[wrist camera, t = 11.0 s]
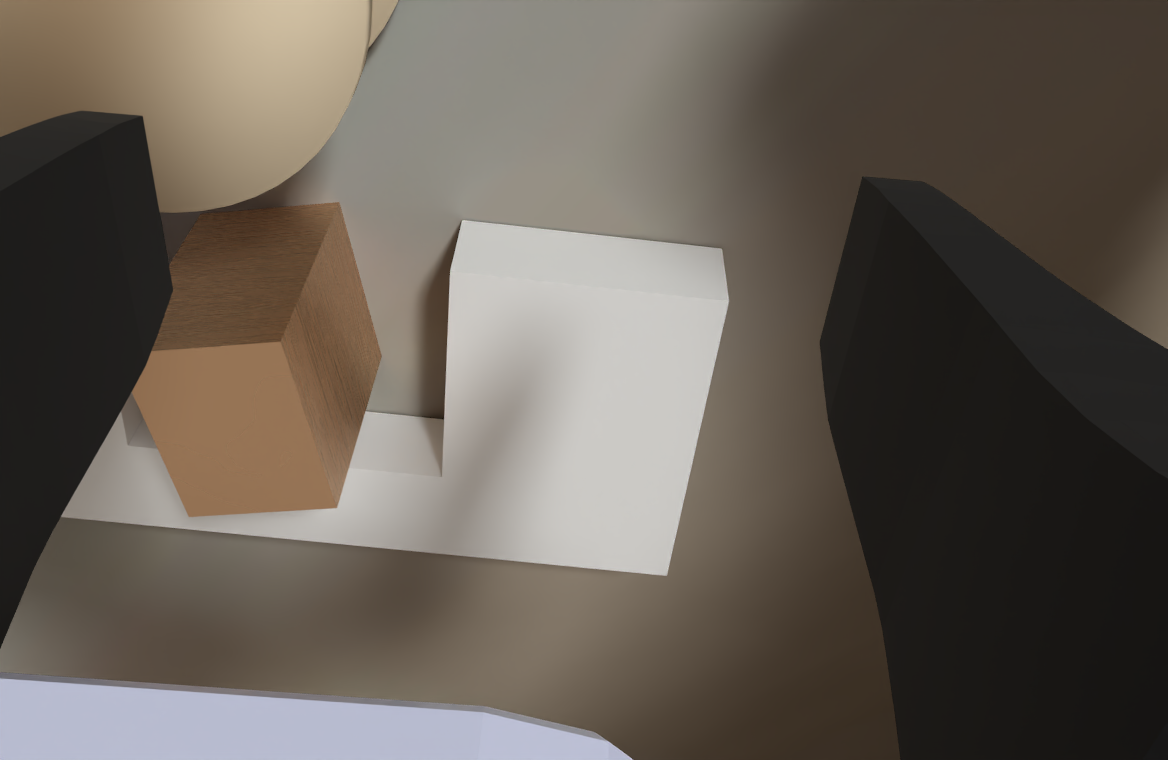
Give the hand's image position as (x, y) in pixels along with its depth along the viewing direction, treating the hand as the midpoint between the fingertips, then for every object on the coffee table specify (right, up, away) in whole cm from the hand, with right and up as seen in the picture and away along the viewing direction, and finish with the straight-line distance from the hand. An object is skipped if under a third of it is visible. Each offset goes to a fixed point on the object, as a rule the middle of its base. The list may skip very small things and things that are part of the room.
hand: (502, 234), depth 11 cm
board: (-5, -1, +14) cm, 15 cm away
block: (-6, +1, +13) cm, 14 cm away
